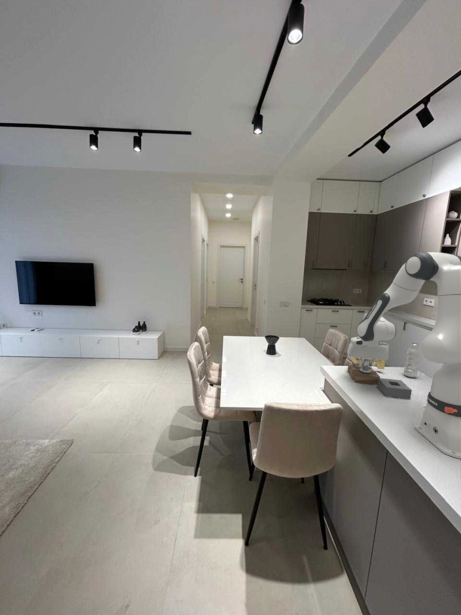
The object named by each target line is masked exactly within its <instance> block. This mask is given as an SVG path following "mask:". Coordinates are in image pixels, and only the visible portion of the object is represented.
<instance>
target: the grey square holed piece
mask: <svg viewBox="0 0 461 615" xmlns="http://www.w3.org/2000/svg"><path fill="white" fill-rule="evenodd" d="M376 387H377V388H378V389H379V391H380V392H381V393H382V395H384V397H388V398H395V399H396V398H397V399H403V400H404V399H405V400H411V399H412V398H411V397H412V390H413V389H411V388H410V387H409V386H408V385H407V384H406V383H404V381H402V379H393V378H392V379H391V378H383V377H380V378H378V383H377V385H376Z"/></svg>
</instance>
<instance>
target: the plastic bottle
mask: <svg viewBox="0 0 461 615" xmlns="http://www.w3.org/2000/svg"><path fill="white" fill-rule="evenodd" d="M419 345H420V343H416V342H411V343H410V347H409V348H407V350H406V363H405V367H404V369H403V374H404V375H405V376H406V377H408V378H416V377H418V364H419V359H420V356H421V350H420V349H419V348H420V346H419Z"/></svg>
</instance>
